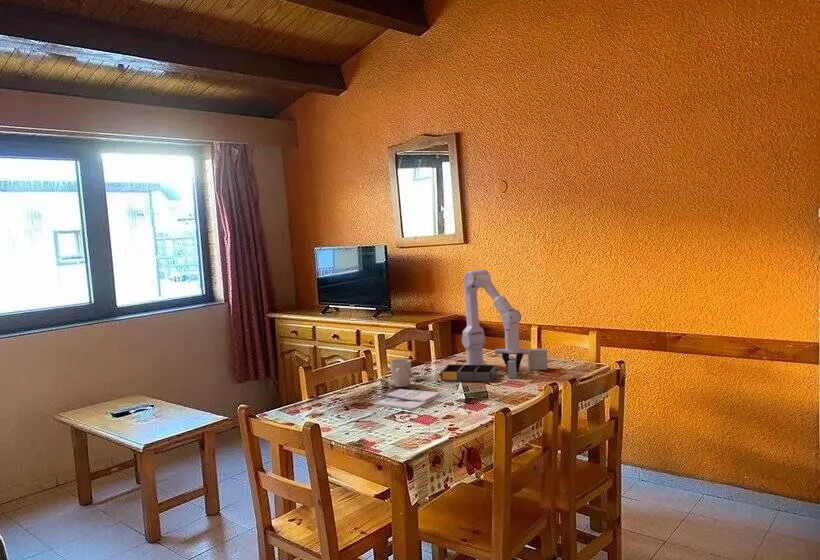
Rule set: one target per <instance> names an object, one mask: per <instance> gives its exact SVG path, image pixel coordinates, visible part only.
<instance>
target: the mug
mask: <svg viewBox="0 0 820 560" xmlns="http://www.w3.org/2000/svg"><path fill="white" fill-rule="evenodd" d="M390 370H391V376H392V380H393V381H392V382H393V385H394V387H396V388H404V387H406V388H407V387H409V386H410V384H411V376H412V360H411V359H408V358H398V359H393V360H391V361H390Z"/></svg>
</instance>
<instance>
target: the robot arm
mask: <svg viewBox="0 0 820 560" xmlns="http://www.w3.org/2000/svg"><path fill="white" fill-rule="evenodd" d="M463 285H464V286H463V289H464V290H463V292H464V293H463V294H464V305H465V317H466V318H465V319H466V327H465V328H464V329H463V330H462V337H461V344H462V346H463V347H464V349H465V355H466V357H465V358H466V365H487V364H486V362H484V350H483V347H484V345H485V344H486V335H485V333H484V332H485V331H484V328H483V327H481V326H480V319H479V318H480V317H479V307H478V306H479V304H478V292H477V291H479V289H480V288H481V289H483V290H484V291H485V292H486V293H487V294H488V296H489V297H490V298H491V299H492V300H493V306H494V308H495V309H496V311H497V312H498V313H499V315H500V316H501V317H500V321H501V323H502V324H503V325H502V326H503V329H504V342H505V343H504V345H505V348H496V349H494V355H501V357H502V359H503V361H504V363H505V365H506V366H505V367H506V370H507V372H508V360H509V359H510V355H516V356H515V357H516V360H517V372H519V373H520V366H521V362H522V360H523V356H524V355H527V356H528V355H530V349H531V348H520V333H519V327H520V326H519V323H520V322H521V321H522V314H521V313H520V311H519V309H515V307H513V306H512V305H511V304H510V302H509V301H508V298H506V297H505V296H503V295H500V293H499V291H498V290H497V288H496V286H495V285H494V283H493V281H492V276H491V274H490V273H489V271H488V270H487V269H479V270H469V271H466V273H465V274H464V275H463Z"/></svg>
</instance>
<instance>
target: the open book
mask: <svg viewBox="0 0 820 560" xmlns="http://www.w3.org/2000/svg"><path fill="white" fill-rule="evenodd" d="M385 396H386V397H384V399H381V400H378V401H376V402H374V403H373V405H374V406H381V407H387V408H388V407H389V408H395V409H403V410H408V411H415V410H416V409H419V408H420V407H423V406H425V405H427V404H428V403H431V402H432V401H435V400H438V399H439V398H441V397H442V395H441V393H440V392H439V391H438V392H437V391H427V390H426V391H425V390H415V389H403V388H399V389H397V390H393V391H391V392H389V393H386V394H385Z"/></svg>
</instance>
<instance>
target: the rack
mask: <svg viewBox="0 0 820 560" xmlns="http://www.w3.org/2000/svg"><path fill="white" fill-rule="evenodd" d="M497 374H498V369H497V364H485V365H467V364H450V363H449V364H448V363H447V365H446V366H445V367H444V368H443V369H442V370H441V371H440V381H441V382H463V381H483V382H482V383H493V382H494V379H495V378H496V376H497Z"/></svg>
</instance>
